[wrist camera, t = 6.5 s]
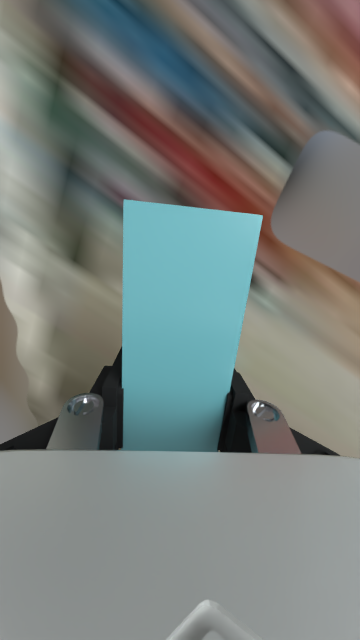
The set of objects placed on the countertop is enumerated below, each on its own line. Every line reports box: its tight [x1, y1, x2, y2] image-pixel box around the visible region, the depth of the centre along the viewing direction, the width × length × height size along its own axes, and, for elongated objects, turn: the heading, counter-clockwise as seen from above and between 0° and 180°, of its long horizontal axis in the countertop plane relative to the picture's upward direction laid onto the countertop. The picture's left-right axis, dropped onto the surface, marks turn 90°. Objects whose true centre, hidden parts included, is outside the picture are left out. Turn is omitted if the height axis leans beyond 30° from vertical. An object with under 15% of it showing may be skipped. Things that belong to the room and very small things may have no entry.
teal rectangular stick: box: [121, 200, 263, 452], centre depth 10 cm, size 4×15×4 cm, turn 175°
